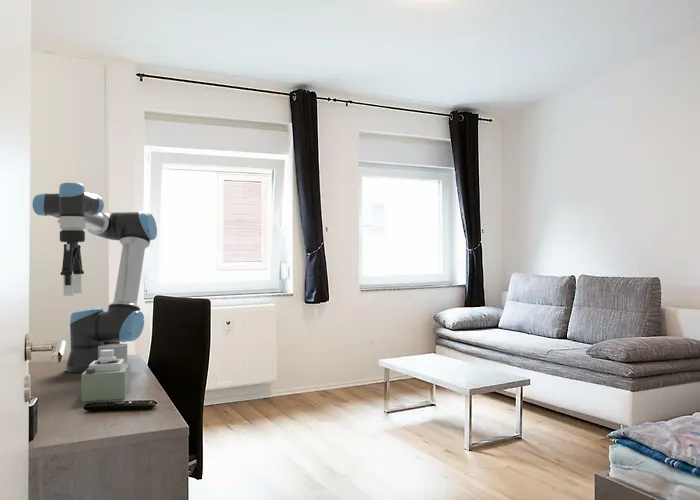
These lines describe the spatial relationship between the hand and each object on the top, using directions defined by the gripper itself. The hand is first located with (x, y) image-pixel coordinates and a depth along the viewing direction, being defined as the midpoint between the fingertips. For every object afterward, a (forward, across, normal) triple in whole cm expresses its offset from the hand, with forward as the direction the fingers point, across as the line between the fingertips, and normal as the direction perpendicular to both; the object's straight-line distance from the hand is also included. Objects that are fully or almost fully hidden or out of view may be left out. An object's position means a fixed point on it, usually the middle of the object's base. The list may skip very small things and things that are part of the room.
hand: (73, 294), depth 192 cm
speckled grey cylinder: (+31, -8, +11) cm, 34 cm away
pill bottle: (+27, +13, +12) cm, 32 cm away
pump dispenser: (+31, -60, +2) cm, 68 cm away
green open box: (+31, +13, +12) cm, 35 cm away
